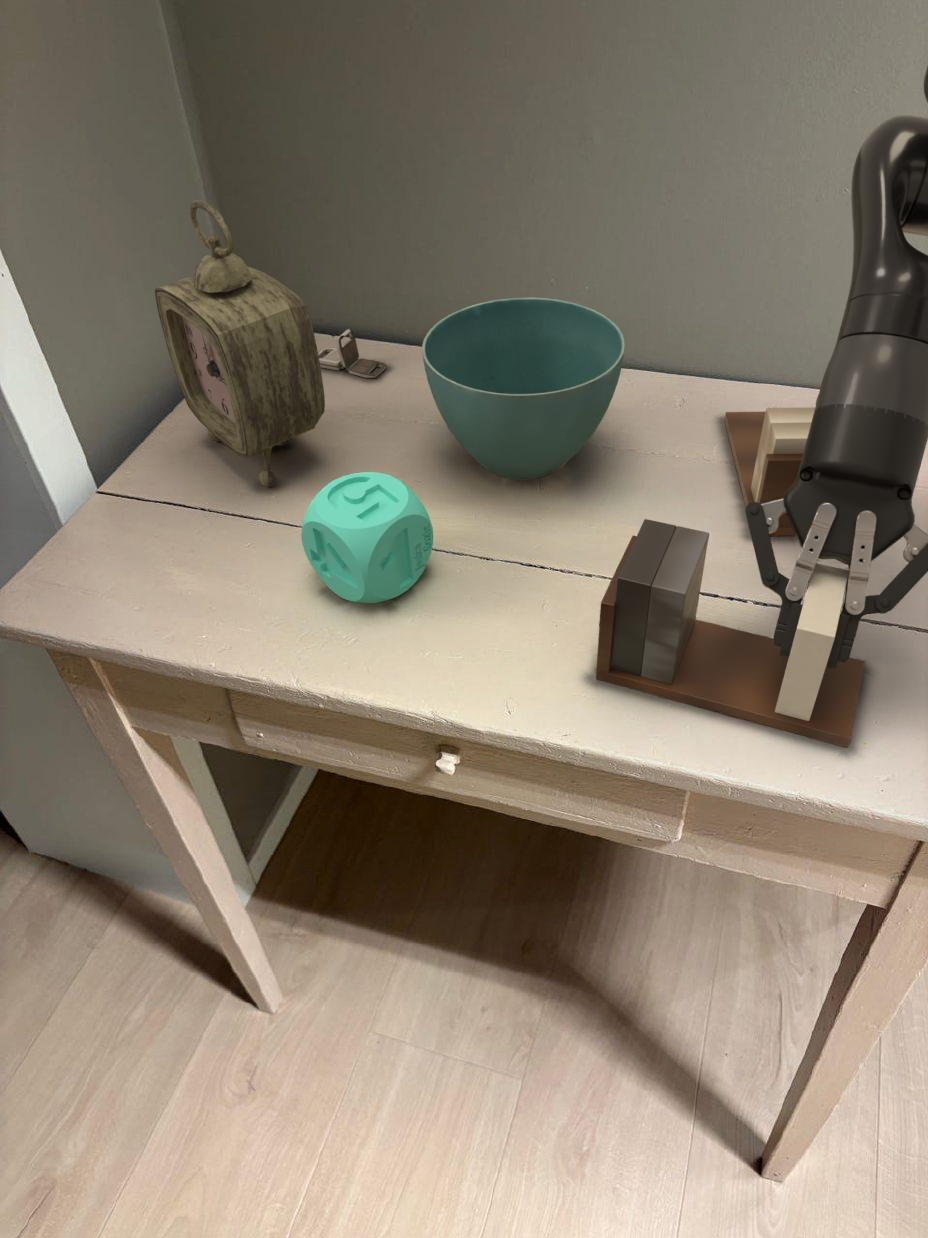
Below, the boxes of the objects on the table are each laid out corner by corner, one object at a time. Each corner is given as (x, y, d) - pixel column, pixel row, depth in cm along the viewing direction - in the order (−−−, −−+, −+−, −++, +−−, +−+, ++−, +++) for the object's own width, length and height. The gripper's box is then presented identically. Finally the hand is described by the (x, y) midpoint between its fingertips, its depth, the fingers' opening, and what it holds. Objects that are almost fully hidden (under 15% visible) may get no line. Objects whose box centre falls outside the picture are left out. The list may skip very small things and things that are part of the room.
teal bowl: (484, 391, 104) (479, 283, 95) (643, 428, 97) (654, 315, 89) (398, 483, 93) (384, 369, 84) (572, 531, 86) (576, 413, 77)
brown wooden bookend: (861, 669, 72) (897, 567, 65) (847, 747, 67) (884, 646, 60) (625, 611, 78) (634, 511, 71) (595, 679, 73) (602, 579, 66)
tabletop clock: (193, 439, 100) (122, 193, 83) (269, 407, 104) (216, 166, 86) (263, 502, 92) (200, 242, 74) (342, 464, 95) (300, 209, 78)
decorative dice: (371, 618, 79) (359, 543, 74) (308, 577, 83) (292, 503, 78) (438, 569, 83) (431, 494, 78) (374, 532, 87) (364, 459, 82)
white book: (824, 654, 72) (849, 569, 66) (809, 721, 68) (835, 637, 62) (791, 646, 73) (813, 562, 67) (774, 712, 69) (796, 628, 63)
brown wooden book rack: (846, 535, 84) (873, 443, 77) (752, 536, 84) (771, 444, 78) (804, 419, 97) (824, 332, 90) (724, 420, 98) (737, 333, 91)
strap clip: (311, 365, 110) (305, 331, 107) (325, 353, 112) (320, 319, 109) (374, 380, 107) (370, 345, 104) (388, 367, 109) (384, 332, 106)
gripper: (767, 384, 64) (702, 635, 65) (994, 421, 60) (922, 690, 60) (769, 412, 71) (710, 638, 72) (972, 447, 67) (907, 687, 67)
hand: (807, 660), depth 66 cm, fingers closed on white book, 2 cm apart
